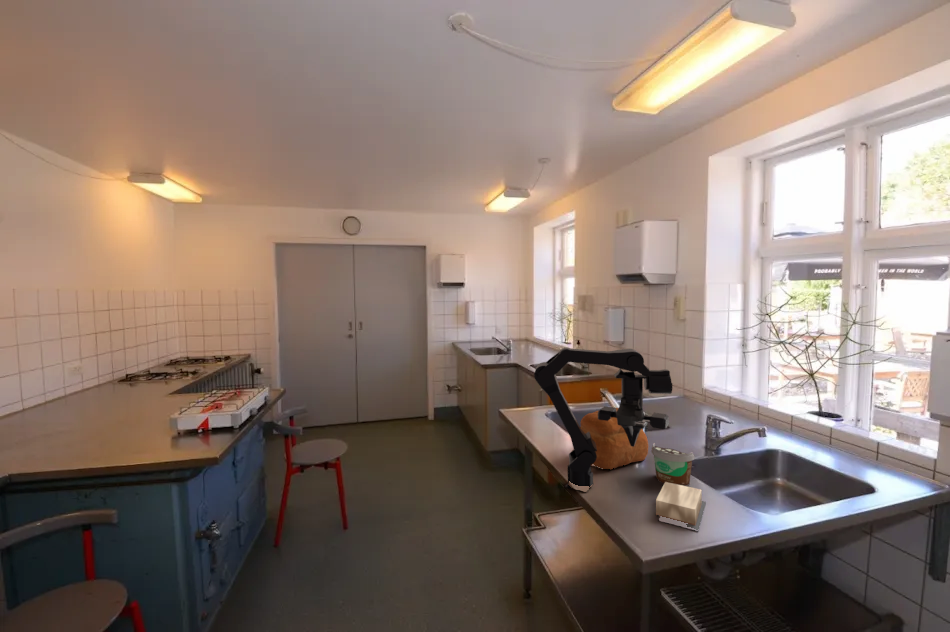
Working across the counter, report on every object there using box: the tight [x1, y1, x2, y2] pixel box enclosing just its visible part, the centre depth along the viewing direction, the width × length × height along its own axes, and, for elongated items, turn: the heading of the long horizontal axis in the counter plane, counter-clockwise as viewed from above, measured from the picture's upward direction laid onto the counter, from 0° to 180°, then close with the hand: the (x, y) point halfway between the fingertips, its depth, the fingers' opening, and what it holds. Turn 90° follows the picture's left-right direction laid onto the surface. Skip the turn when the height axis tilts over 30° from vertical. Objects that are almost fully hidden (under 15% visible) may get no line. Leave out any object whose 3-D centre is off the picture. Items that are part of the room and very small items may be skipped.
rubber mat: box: [686, 500, 707, 531], centre depth 109 cm, size 9×16×1 cm, turn 145°
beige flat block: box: [655, 482, 703, 525], centre depth 109 cm, size 4×12×9 cm
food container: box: [650, 442, 695, 486], centre depth 125 cm, size 12×6×10 cm, turn 45°
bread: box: [579, 407, 649, 470], centre depth 144 cm, size 18×21×17 cm
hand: (632, 446), depth 121 cm, fingers closed
